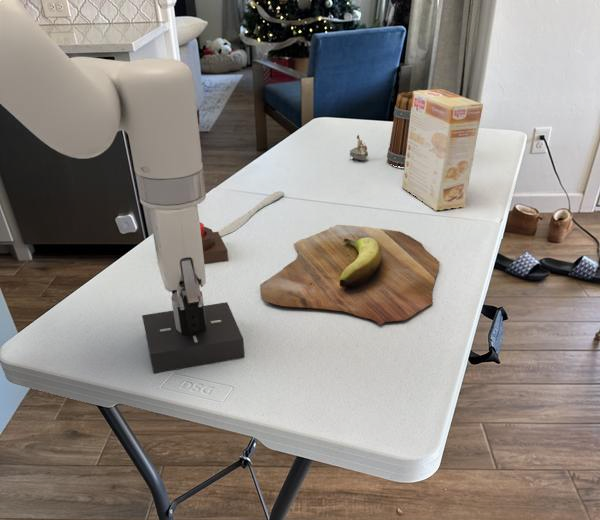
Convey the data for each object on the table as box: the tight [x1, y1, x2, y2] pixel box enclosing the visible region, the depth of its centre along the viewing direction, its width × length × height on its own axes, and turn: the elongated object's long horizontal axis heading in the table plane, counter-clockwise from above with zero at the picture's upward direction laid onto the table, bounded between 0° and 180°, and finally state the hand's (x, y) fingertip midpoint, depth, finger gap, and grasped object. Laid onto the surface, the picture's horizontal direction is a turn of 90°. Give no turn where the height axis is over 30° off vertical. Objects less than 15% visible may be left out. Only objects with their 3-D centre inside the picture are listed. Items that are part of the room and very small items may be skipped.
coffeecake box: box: [401, 88, 484, 212], centre depth 117 cm, size 15×7×20 cm, turn 20°
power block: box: [202, 226, 229, 265], centre depth 100 cm, size 10×8×4 cm
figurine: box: [349, 134, 369, 161], centre depth 142 cm, size 5×4×6 cm
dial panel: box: [141, 301, 245, 374], centre depth 78 cm, size 12×10×3 cm
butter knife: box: [217, 190, 285, 237], centre depth 115 cm, size 1×27×3 cm
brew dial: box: [170, 290, 206, 332], centre depth 76 cm, size 4×4×5 cm
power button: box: [200, 222, 205, 238], centre depth 98 cm, size 4×4×2 cm
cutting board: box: [259, 224, 441, 326], centre depth 96 cm, size 35×27×4 cm
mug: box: [386, 89, 422, 167], centre depth 139 cm, size 16×11×15 cm
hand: (190, 322), depth 77 cm, fingers closed on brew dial, 4 cm apart
